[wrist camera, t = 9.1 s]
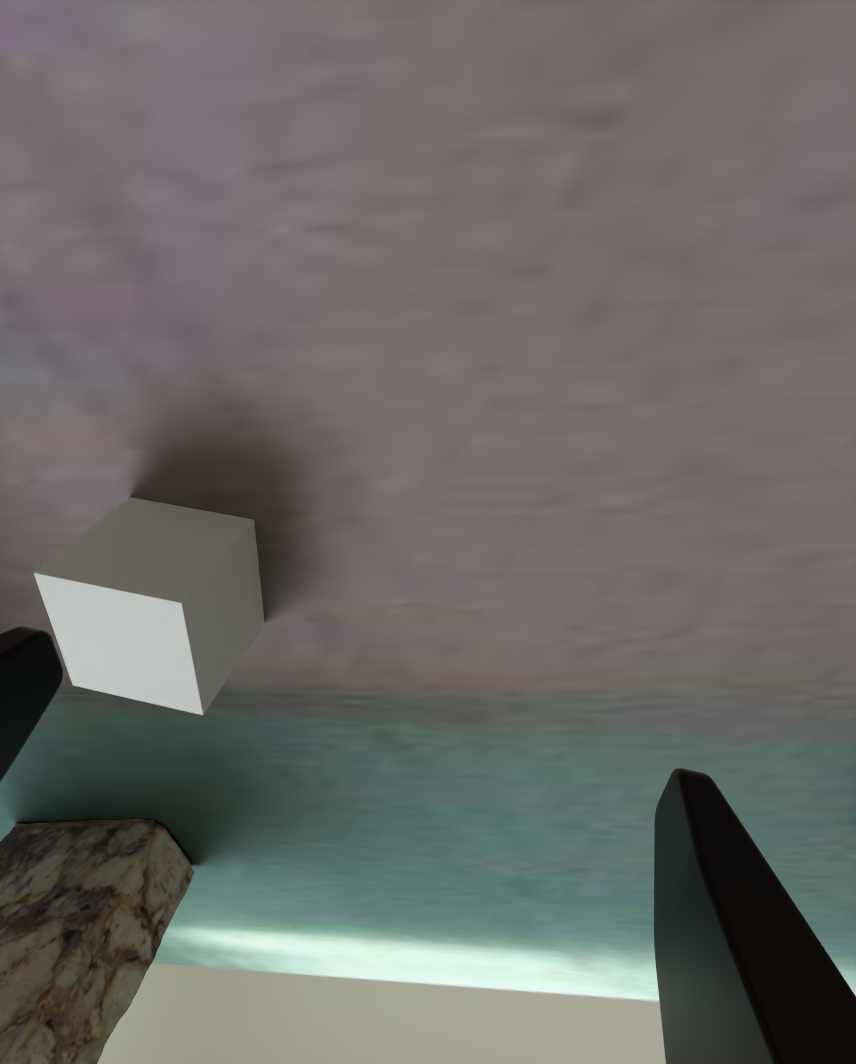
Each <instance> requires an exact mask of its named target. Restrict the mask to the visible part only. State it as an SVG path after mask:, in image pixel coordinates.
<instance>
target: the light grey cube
mask: <svg viewBox="0 0 856 1064" xmlns="http://www.w3.org/2000/svg"><path fill="white" fill-rule="evenodd" d="M34 575H35V578H36V581H37V584H38V587H39V590H40V593H41V595H42V598H43V601H44V604H45V607H46V610H47V613H48V615H49V618H50V621H51V624H52V627H53V630H54V633H55V635H56V638H57V641H58V644H59V647H60V650H61V653H62V655H63V658H64V661H65V664H66V667H67V670H68V673H69V675H70V678H71V681H72V684H73V685H74V686H78V687H82V688H87V689H91V690H95V691H100V692H104V693H108V694H113V695H117V696H121V697H126V698H130V699H134V700H139V701H143V702H147V703H152V704H156V705H160V706H165V707H169V708H173V709H178V710H182V711H186V712H191V713H195V714H199V715H204V713H205V712H206V710H207V709H208V707H209V706H210V704H211V703H212V701H213V700H214V698H215V697H216V695H217V694H218V692H219V691H220V689H221V688H222V686H223V685H224V683H225V682H226V680H227V679H228V677H229V676H230V674H231V673H232V671H233V670H234V668H235V667H236V665H237V664H238V662H239V661H240V659H241V658H242V656H243V655H244V653H245V652H246V650H247V649H248V647H249V646H250V644H251V643H252V641H253V640H254V638H255V637H256V635H257V634H258V632H259V631H260V629H261V628H262V626H263V625H264V623H265V622H264V613H263V603H262V593H261V583H260V573H259V563H258V553H257V544H256V534H255V524H254V519H248V518H243V517H237V516H231V515H226V514H220V513H215V512H209V511H204V510H198V509H193V508H187V507H181V506H176V505H170V504H165V503H159V502H154V501H148V500H143V499H137V498H132V497H129V498H128V499H127V500H125V501H124V502H123V503H122V504H120V505H119V506H118V507H116V508H115V509H114V510H113V511H111V512H110V513H109V514H108V515H106V516H105V517H104V518H103V519H101V520H100V521H99V522H97V523H96V524H95V525H94V526H92V527H91V528H90V529H89V530H87V531H86V532H85V533H84V534H82V535H81V536H80V537H78V538H77V539H76V540H75V541H73V542H72V543H71V544H70V545H68V546H67V547H66V548H65V549H63V550H62V551H61V552H59V553H58V554H57V555H56V556H54V557H53V558H52V559H51V560H49V561H48V562H47V563H46V564H44V565H43V566H42V567H40V568H39V569H38V570H37V571H35V572H34Z"/></svg>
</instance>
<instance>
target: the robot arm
mask: <svg viewBox="0 0 856 1064" xmlns="http://www.w3.org/2000/svg"><path fill="white" fill-rule="evenodd" d="M62 679H63V668H62V665H61V662H60V659H59V656H58V654H57V651H56V648H55V645H54V642H53V640H52V637H51V636H50V634H48V633H47V632H46V631H43V630H38V629H33V628H29V627H17V628H14V629H11V630H9V631H7V632H4V633H2V634H0V781H1V780H2V779H3V777H4V776H5V774H6V773H7V771H8V769H9V768H10V766H11V765H12V763H13V762H14V760H15V758H16V757H17V755H18V754H19V752H20V750H21V749H22V747H23V745H24V744H25V742H26V741H27V739H28V737H29V736H30V734H31V732H32V731H33V729H34V728H35V726H36V724H37V723H38V721H39V719H40V718H41V716H42V715H43V713H44V711H45V710H46V708H47V706H48V705H49V703H50V701H51V700H52V698H53V697H54V695H55V693H56V692H57V690H58V688H59V687H60V685H61V682H62ZM654 946H655V959H656V971H657V981H658V990H659V1000H660V1009H661V1019H662V1029H663V1039H664V1048H665V1057H666V1064H856V996H855V995H854V993H853V992H852V990H851V989H850V987H849V986H848V984H847V982H846V981H845V979H844V978H843V976H842V975H841V973H840V972H839V970H838V969H837V967H836V966H835V964H834V963H833V961H832V960H831V958H830V957H829V955H828V954H827V952H826V951H825V949H824V948H823V946H822V945H821V943H820V942H819V940H818V939H817V937H816V936H815V934H814V932H813V931H812V929H811V928H810V926H809V925H808V923H807V922H806V920H805V919H804V917H803V916H802V914H801V913H800V911H799V910H798V908H797V907H796V905H795V904H794V902H793V901H792V899H791V898H790V896H789V895H788V893H787V892H786V890H785V889H784V887H783V886H782V884H781V882H780V881H779V879H778V878H777V876H776V875H775V873H774V872H773V870H772V869H771V867H770V866H769V864H768V863H767V861H766V860H765V858H764V857H763V855H762V854H761V852H760V851H759V849H758V848H757V846H756V845H755V843H754V842H753V840H752V839H751V837H750V836H749V834H748V832H747V831H746V829H745V828H744V826H743V825H742V823H741V822H740V820H739V819H738V817H737V816H736V814H735V813H734V811H733V810H732V808H731V807H730V805H729V804H728V802H727V801H726V799H725V798H724V796H723V795H722V793H721V792H720V790H719V789H718V787H717V786H716V784H715V782H714V781H713V780H712V779H711V778H710V777H709V776H708V775H706V774H704V773H700V772H695V771H691V770H686V769H682V768H677V769H675V770H674V771H673V772H672V774H671V776H670V778H669V780H668V782H667V785H666V787H665V789H664V791H663V793H662V796H661V798H660V800H659V802H658V805H657V808H656V814H655V844H654Z"/></svg>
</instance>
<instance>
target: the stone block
mask: <svg viewBox="0 0 856 1064" xmlns="http://www.w3.org/2000/svg"><path fill="white" fill-rule="evenodd" d="M193 874H194V871H193V869H192V867H191V865H190V862H189V861H188V859H187V858H186V856H185V855H184V854H183V852H182V851H181V850H180V848H179V847H178V845H177V844H176V843H175V841H174V840H173V839H172V837H171V836H170V834H169V832H168V831H167V830H166V829H165V828H164V826H162V825H160V824H157V823H155V822H154V821H153V820H145V819H126V820H84V821H71V822H54V823H33V824H21V823H16V825H15V827H14V828H13V829H12V830H11V832H10V833H9V834H8V835H6V836H5V837H4V838H3V840H2V841H1V842H0V1064H97V1062H98V1060H99V1058H100V1056H101V1054H102V1051H103V1048H104V1045H105V1043H106V1042H107V1040H108V1038H109V1036H110V1035H111V1033H112V1032H113V1030H114V1028H115V1026H116V1024H117V1022H118V1021H119V1020H120V1018H121V1017H122V1016H123V1015H124V1013H125V1012H126V1011H127V1009H128V1008H129V1006H130V1004H131V1002H132V1000H133V998H134V996H135V995H136V993H137V991H138V989H139V987H140V984H141V982H142V980H143V978H144V975H145V973H146V971H147V970H148V968H149V966H150V965H151V963H152V961H153V959H154V957H155V955H156V951H157V949H158V947H159V945H160V943H161V940H162V938H163V935H164V933H165V931H166V929H167V927H168V925H169V923H170V921H171V919H172V917H173V915H174V913H175V911H176V909H177V907H178V905H179V903H180V901H181V900H182V898H183V897H184V895H185V893H186V891H187V889H188V886H189V884H190V882H191V878H192V876H193Z"/></svg>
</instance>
